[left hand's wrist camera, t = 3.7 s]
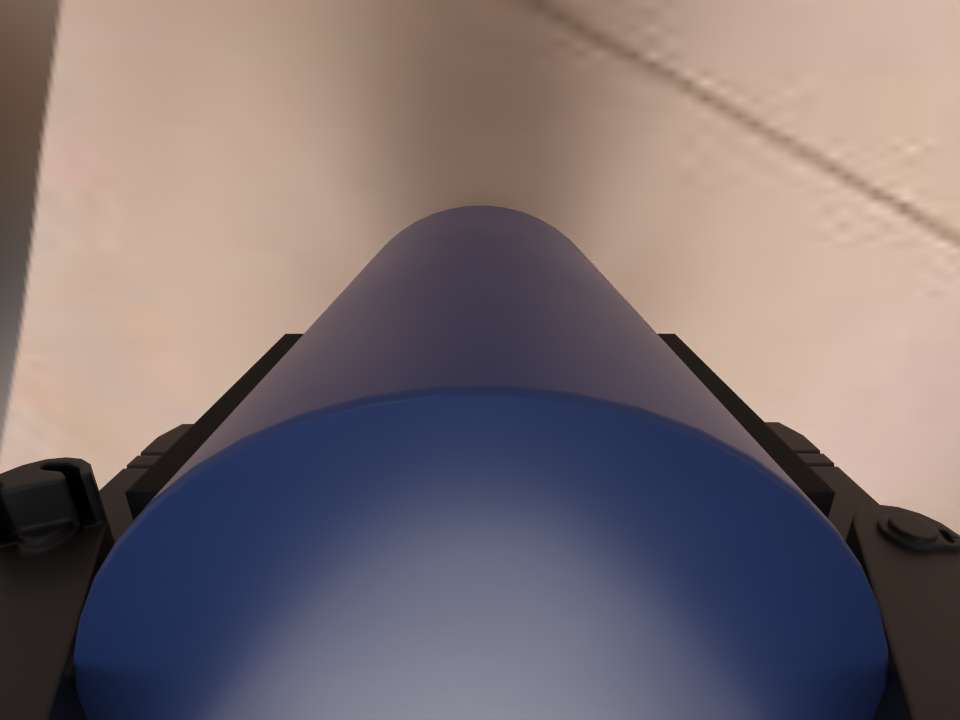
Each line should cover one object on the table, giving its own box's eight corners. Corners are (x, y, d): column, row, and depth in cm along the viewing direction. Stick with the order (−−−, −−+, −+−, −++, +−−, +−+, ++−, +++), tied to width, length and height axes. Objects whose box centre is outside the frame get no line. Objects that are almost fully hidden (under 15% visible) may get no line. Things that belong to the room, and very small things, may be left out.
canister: (374, 456, 19) (202, 966, 7) (329, 218, 16) (-92, 431, 4) (608, 439, 18) (824, 939, 7) (608, 192, 15) (993, 344, 4)
